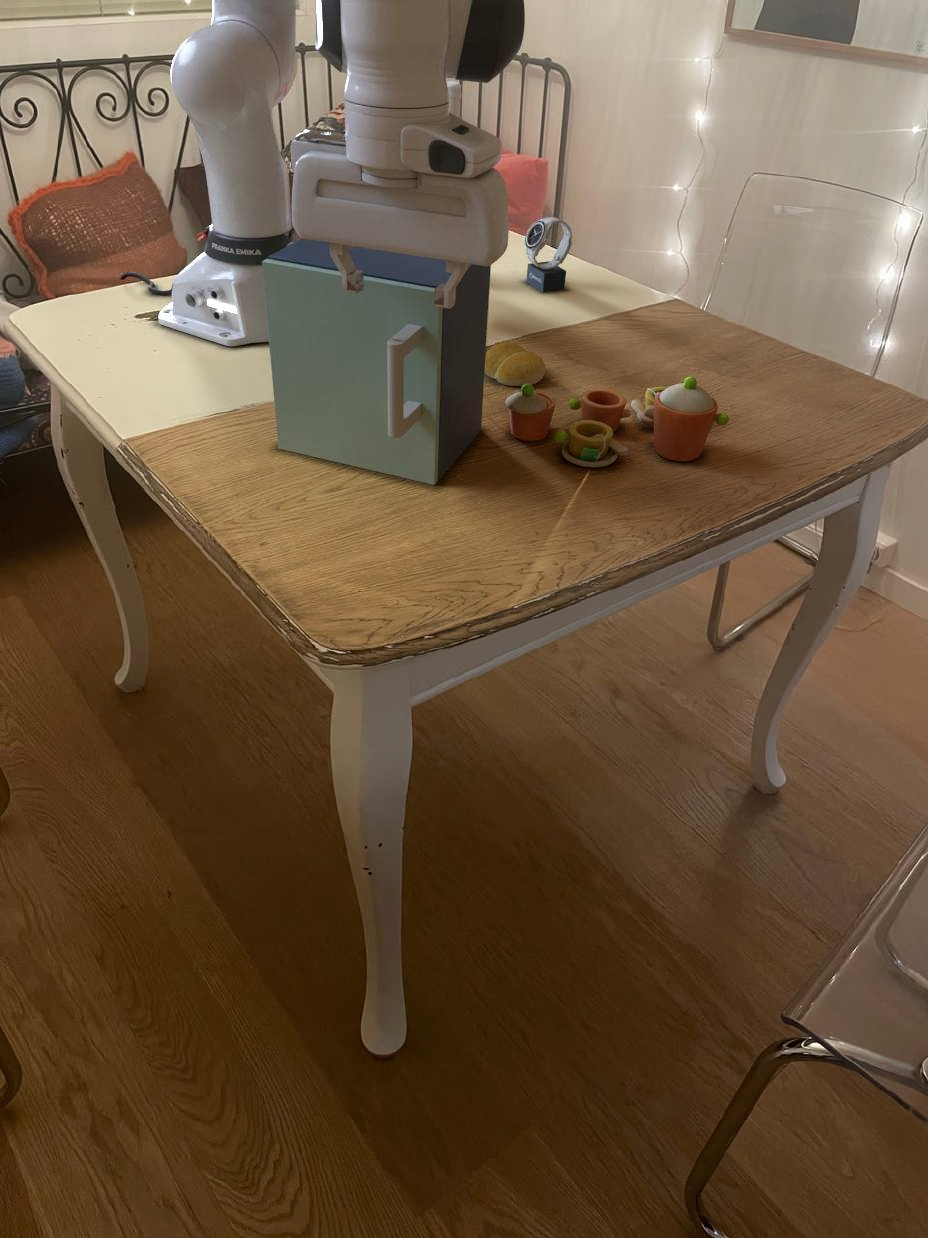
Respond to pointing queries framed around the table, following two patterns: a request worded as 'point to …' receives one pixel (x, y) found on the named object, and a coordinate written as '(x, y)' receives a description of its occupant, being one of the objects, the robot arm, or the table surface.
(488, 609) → the table surface
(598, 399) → the toy tea set
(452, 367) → the cupboard
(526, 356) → the bread roll
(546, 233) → the watch
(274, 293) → the cupboard door
